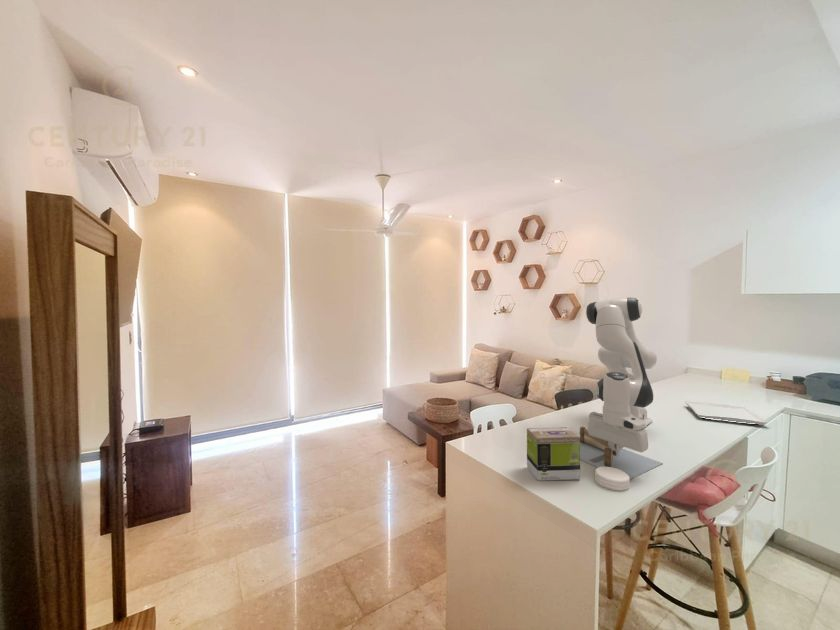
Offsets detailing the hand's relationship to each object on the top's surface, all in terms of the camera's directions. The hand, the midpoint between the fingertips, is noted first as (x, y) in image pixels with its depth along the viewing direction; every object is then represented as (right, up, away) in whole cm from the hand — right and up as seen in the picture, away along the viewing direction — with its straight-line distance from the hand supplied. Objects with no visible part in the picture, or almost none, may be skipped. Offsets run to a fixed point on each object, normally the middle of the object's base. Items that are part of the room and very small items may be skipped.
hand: (615, 455), depth 123 cm
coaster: (-8, -5, -12) cm, 15 cm away
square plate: (+91, -4, +57) cm, 107 cm away
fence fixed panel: (+2, -4, +16) cm, 16 cm away
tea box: (-25, -4, -6) cm, 26 cm away
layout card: (+1, -4, +8) cm, 9 cm away
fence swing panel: (0, -4, +4) cm, 5 cm away
